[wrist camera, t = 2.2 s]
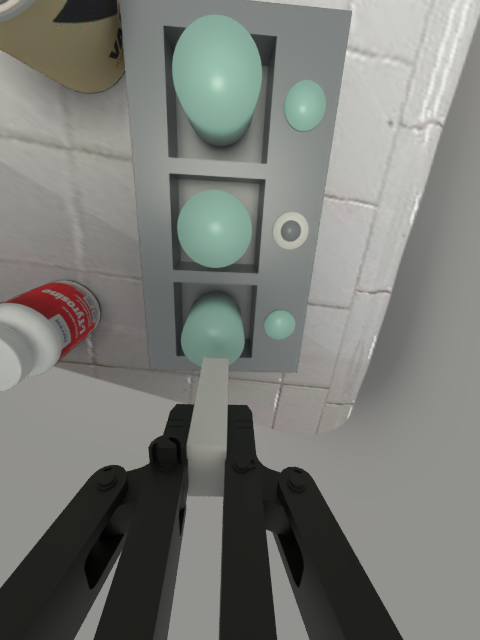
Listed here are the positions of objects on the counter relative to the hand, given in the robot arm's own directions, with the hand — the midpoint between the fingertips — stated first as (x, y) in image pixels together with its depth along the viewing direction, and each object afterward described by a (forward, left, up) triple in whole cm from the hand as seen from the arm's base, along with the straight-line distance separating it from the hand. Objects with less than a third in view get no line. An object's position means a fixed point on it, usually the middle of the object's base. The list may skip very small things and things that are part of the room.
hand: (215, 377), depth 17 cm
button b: (0, +8, -10) cm, 13 cm away
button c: (0, +16, -10) cm, 19 cm away
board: (+1, +8, -13) cm, 16 cm away
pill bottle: (-15, -1, -14) cm, 21 cm away
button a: (0, 0, -10) cm, 10 cm away
